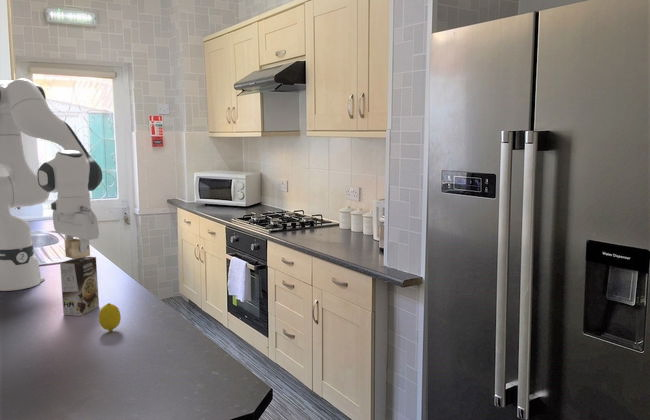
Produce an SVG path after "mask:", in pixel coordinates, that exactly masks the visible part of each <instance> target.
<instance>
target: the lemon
mask: <svg viewBox="0 0 650 420" xmlns="http://www.w3.org/2000/svg"><path fill="white" fill-rule="evenodd" d="M121 317H122V316H121V312H120V309H119V307H118V306H117V305H115V304H112V303H111V302H109V303H107V304H105V305H103V307H102V308H100V310H99V315H98V322H99V324H100V326H101V328H102V329H104V330H107V331H108V332H113V330H114V329H116V328H117V327H118V326H119V325H120V323H121V319H122V318H121Z"/></svg>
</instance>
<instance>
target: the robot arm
mask: <svg viewBox="0 0 650 420" xmlns="http://www.w3.org/2000/svg"><path fill="white" fill-rule="evenodd" d="M46 98H47V97H46V92H45V91H44V89H43V87H42V86H41V85H40V84H37V83H35V82H33V81H31V80H30V79H27V78H17V79H14V80H12V79H8V80H3V79H2V80H0V167H1V168H4V169H5V170H6V171H7V173H8V175H7V176H6V175H5V176H0V291H1V292H7V291H9V292H10V291H20V290H24V289H29V288H33V287H35V286H37V285H38V286H39V284H41V282H43V281H45V277H44V276H42V275H41V269H40V264H39V262H40V261H39V259H38V258H37V257H35V256H34V255H35V248H34V245H33V243H32V233H31V225H30V223H29V222H28V221H27V220H25V219H23V218H21V217H18V216H15V215H12V214H11V212H10V209H12V208H21V207H22V208H23V207H32V206H37V205H40V204H44V203H46V201H47V200H48V199H49V197H50V193H57V195H56V197H57V199H56V200H55V201H53V202H51V203H50V209H51V210H52V223H53V228H54V230H55V233H56V234H61V235H64V238H65V239H64V240H69V239H74V238H79V239H80V242H81V243H80V246H79V252H81V253H85V252H87V245H88V242H89V243H90V241H91V240H97V239H99V235H100V230H99V223H98V218H97V216H96V214H95V212H94V211H93V210H92V207H91V206H92V205H91V193H90V192H92V191H94V190H95V189H97V188H98V187H99V185H100V184H101V183H102V181H103V171H102V168H101V166H100V165H99V164H98V162H97V161H96V160H95V159H94V158H93V157H92V155H90V153H89V152H88V151H87V148H85V146H84V144H83V143H82V142H81V140H80V138H79V137H78V135H77V134H76V133H75V131H74V129H72V127H71V125H70V124H68V123H67V122H66V121H64V120H62V119H61V118H60V117H58V116H57V114H55V113H54V112H53V111H52V109H51V108H50V107H49V105H48V103H47V102H48V101H47V99H46ZM22 133H23V134H24V135H27V136H29V137H31V138H36V139H39V140H46V141H47V142H48V141H49V142H51V143H55V144H57V145H58V146H60V147H61V148H63V149H62V150H59V151H57V152H56V153H55V157H54V158H53V159H51V160H49V161H46V162H43V163H42V164H41V165H40V167H39V168H38V169H37V171H36V172H35V171H34V170H33V168H31V167H32V166H31V167H30V165H29V163H28V161H27V160H26V156H25V152H24V145H23V138H22V137H23V136H22Z"/></svg>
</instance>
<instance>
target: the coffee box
mask: <svg viewBox="0 0 650 420" xmlns="http://www.w3.org/2000/svg"><path fill="white" fill-rule="evenodd" d="M59 265H60V281H61V295H62V297H61V298H62V310H63V312H62V313H63V316H74V317H75V316H77V317H82V316H85V315H86V314H88V313H90V312H92V311H94V310H96V309H98V308H100V298H99V286H98V270H97V266H98V265H97V257H96V256H87V257H81V258H76V259H73V258H70V259H68V260H64V261H63V262H60V263H59Z"/></svg>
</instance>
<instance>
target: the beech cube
mask: <svg viewBox="0 0 650 420" xmlns="http://www.w3.org/2000/svg"><path fill="white" fill-rule="evenodd" d="M80 243H81V242H80V239H79V238H77V237H74V238H73V239H69V240H66V239H64V251H65V257H66V258H70V259H76V258H81V257H91V248H90V241H89V242H88V245H87V252H85V253H81V252H79V246H80Z"/></svg>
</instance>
